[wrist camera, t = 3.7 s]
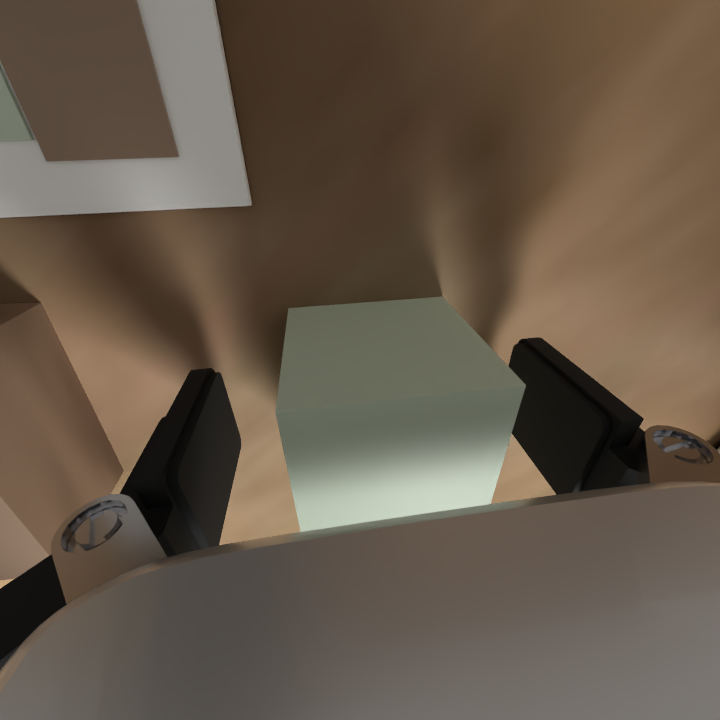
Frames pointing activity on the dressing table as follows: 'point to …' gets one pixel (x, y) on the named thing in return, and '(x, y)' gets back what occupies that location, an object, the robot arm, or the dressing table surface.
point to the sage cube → (391, 411)
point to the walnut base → (43, 440)
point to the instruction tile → (116, 108)
